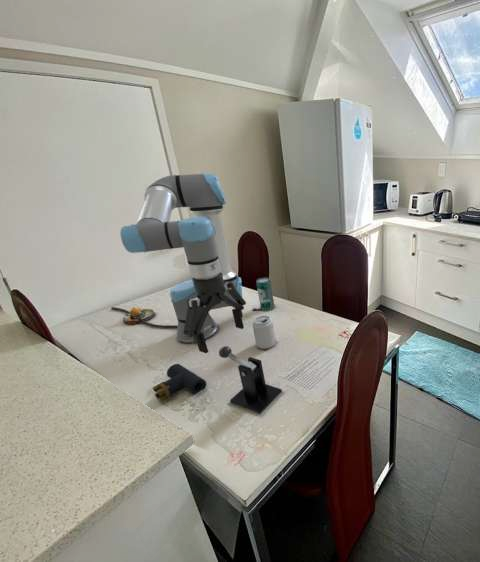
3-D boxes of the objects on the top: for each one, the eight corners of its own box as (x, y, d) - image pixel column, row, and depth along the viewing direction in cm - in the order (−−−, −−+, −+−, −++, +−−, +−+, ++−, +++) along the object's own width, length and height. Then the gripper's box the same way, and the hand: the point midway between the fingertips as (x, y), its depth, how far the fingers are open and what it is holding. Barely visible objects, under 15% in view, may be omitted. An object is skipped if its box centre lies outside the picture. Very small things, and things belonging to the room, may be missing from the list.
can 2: (270, 351, 122) (265, 325, 117) (253, 349, 123) (247, 323, 119) (279, 340, 129) (275, 315, 124) (262, 338, 130) (258, 313, 125)
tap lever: (215, 356, 96) (216, 348, 95) (225, 350, 100) (225, 342, 98) (249, 378, 94) (250, 370, 92) (257, 370, 97) (259, 362, 95)
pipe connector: (167, 397, 93) (143, 379, 100) (171, 411, 95) (148, 392, 102) (204, 376, 102) (180, 360, 109) (207, 388, 104) (183, 373, 111)
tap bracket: (230, 403, 97) (221, 368, 92) (253, 383, 106) (246, 349, 100) (260, 415, 93) (252, 379, 87) (282, 393, 101) (276, 358, 96)
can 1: (258, 308, 154) (253, 281, 148) (268, 303, 159) (263, 276, 153) (267, 311, 151) (262, 283, 145) (276, 306, 156) (272, 279, 150)
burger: (160, 311, 153) (155, 298, 150) (144, 324, 142) (139, 310, 139) (135, 312, 152) (130, 298, 150) (117, 325, 142) (111, 310, 139)
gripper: (174, 296, 74) (195, 366, 83) (250, 261, 95) (261, 321, 104) (153, 290, 77) (176, 360, 86) (231, 258, 98) (244, 317, 107)
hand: (223, 339), depth 95 cm, fingers open, 13 cm apart
